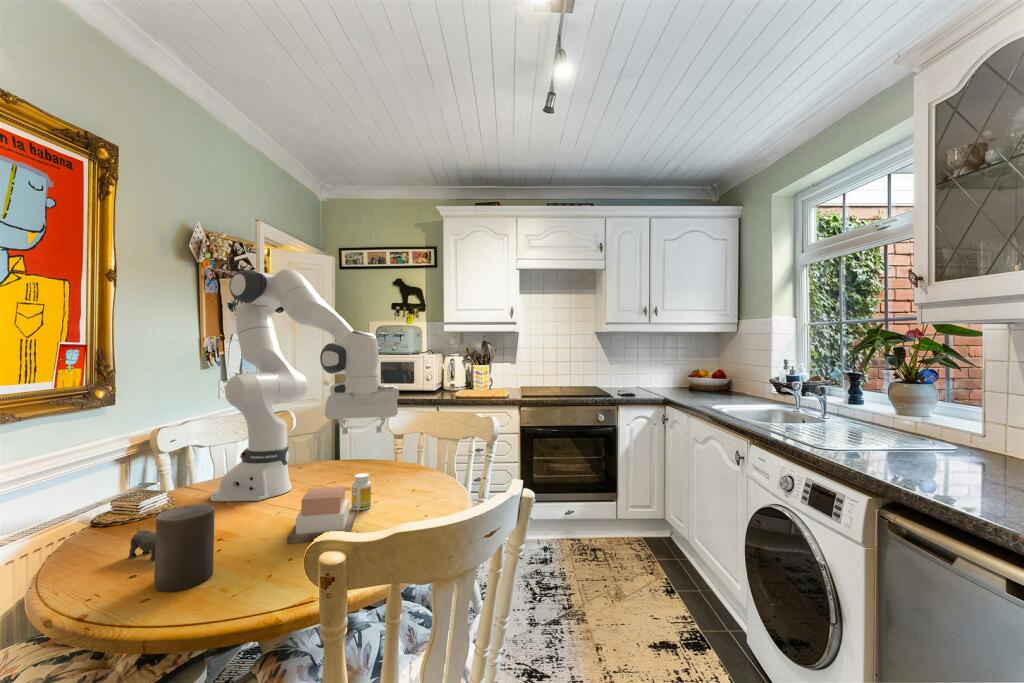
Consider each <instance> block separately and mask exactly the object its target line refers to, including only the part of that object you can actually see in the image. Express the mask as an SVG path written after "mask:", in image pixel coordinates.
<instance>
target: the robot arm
mask: <svg viewBox="0 0 1024 683" xmlns="http://www.w3.org/2000/svg"><path fill="white" fill-rule="evenodd" d="M229 292H230V295H231V296H232V298H233V299H235V300H237V301H238V302H241V303H240V304H239V305H238V306H237V308H236V310H235V327H236V334H237V340H238V344H239V348H240V354H241V356H242V358H243V359H244V361H246V362H247V363H249V364H251V365H253V366H254V367H256V368H257V369H258V371H256V372H254V371H253V372H245V373H240V374H237V375H234V376H231V377H230V378H229V380H228V381H227V382H226V385H225V387H224V397H225V399H226V400H227V402H228V403H229V405H231V406H233V408H235V409H237V410H238V411H239V412H240V413H241V414H242V416H243V418H244V420H245V422H246V426H247V437H248V438H247V439H248V442H247V443H248V447H246V448H245V449H244V450H243V451H242V452H241V454H240V455H239V458H240V459H241V461H240V462H239V463H238V464H236V465H235V466H234V467H232V468H231V469H230V470H229V471H228V472H226V473H225V474H224V475H223V476H222V478H221V479H220V483H219V487H218V489H216V490H214V491H213V492H212V493H211V494H210V498H209V500H210V499H211V500H212V501H211V500H210V501H211V502H259V501H264V500H267V499H269V498H273V497H278V496H281V495H284V494H286V493H288V492H291V490H292V489H293V486H292V484H291V479H290V475H289V469H288V468H289V467H288V464H289V460H290V455H289V454H290V451H289V450H290V449H289V446H288V425H287V422H286V420H284V418H282V417H280V416H278V415H275V413H274V411H273V406H275V405H282V404H290V403H293V402H296V401H299V400H301V399H302V398H304V397H305V395H306V393H307V392H308V381H307V378H306V376H305V375H304V374H303V373H301V372H300V371H298V370H296V369H295V368H294V367H293V366H292V365H291V364H290V363H289V361H288V360H286V357H285V356H284V354H283V353H282V351H281V348H280V344H279V341H278V337H277V333H276V328H275V324H274V321H273V320H274V319H273V314H274V313H277V314H281V313H283V312H285V313H286V314H287V315H288V317H290V318H291V319H292V321H294V322H296V323H297V324H300V325H304V326H307V327H313V328H316V329H320V330H322V331H324V332H326V333H329V334H330V335H331V336H333V338H334V339H335V340H336V341H333V342H331V343H328V344H326V345H325V346H324V347H322V349H321V352H320V355H319V356H320V357H319V361H320V362H319V363H320V365H321V367H322V369H323V371H324V372H325V373H327V374H331V375H346V380H345V381H341V382H338V383H334V384H332V385H331V386H330V387H329V393H330V395H328V397H327V399H326V403H325V407H324V408H325V412H324V417H325V418H326V419H327V420H338V424H339V426H340V428H341V429H342V430H341V432H342V435H349V426H346V425H345V424H344V423H345V420H346V419H369V418H370V419H371V418H373V419H374V418H380V421H381V423H380V424H379V425H377V426H376V432H375V433H378V434H379V433H382V432H383V428H382V427H383V426H384V424H385V423H386V420H387V418H394V417H396V416H397V415H398V414H399V410H398V399H399V398H400V391H399V388H398V387H397V386H394V385H379V372H378V364H379V345H378V340H377V336H376V334H374V333H372V332H368V331H362V330H355V329H353V327H352V326H351V325H350V324H349V323H348V322H347V321H346V320H345V319H344V318H343V317H342V316H341V315H340V314H339V312H337V311H336V310H335V309H334V308H333V307H331V306H330V305H329V304H328V303H327V302H326V301H325V300H324V299H323V298H322V297H321V296H320V294H318V292H317V291H316V290H315V289H314V287H313V285H311V283H310V282H309V281H308V280H307V279H306V278H305V276H303V275H302V274H301V273H300V272H298V271H297V270H296V269H291V268H285V269H281V270H279V271H278V272H276V273H275V274H274V273H271V272H270V273H269V272H260V271H255V270H252V269H243V270H238V271H237V272H235V273H234V274H233V275H232V276H231V278H230V281H229ZM266 498H267V499H266ZM263 499H264V500H263Z"/></svg>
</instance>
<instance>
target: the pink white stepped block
mask: <svg viewBox="0 0 1024 683" xmlns="http://www.w3.org/2000/svg"><path fill="white" fill-rule="evenodd" d="M345 497H346V486H345V485H343V486H342V485H341V486H340V485H338V486H325V487H311V488H308V489H307V490H306V493H305V494H304V495H303V497H302V499H301V509H300V511H299V512H298V514H297V515H296V517H295V524H296V534H305V533H317V532H328V531H340V530H344V528H345V525H346V522H347V518H348V515H349V512H350V499H349V498H348V499H346V498H345Z"/></svg>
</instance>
